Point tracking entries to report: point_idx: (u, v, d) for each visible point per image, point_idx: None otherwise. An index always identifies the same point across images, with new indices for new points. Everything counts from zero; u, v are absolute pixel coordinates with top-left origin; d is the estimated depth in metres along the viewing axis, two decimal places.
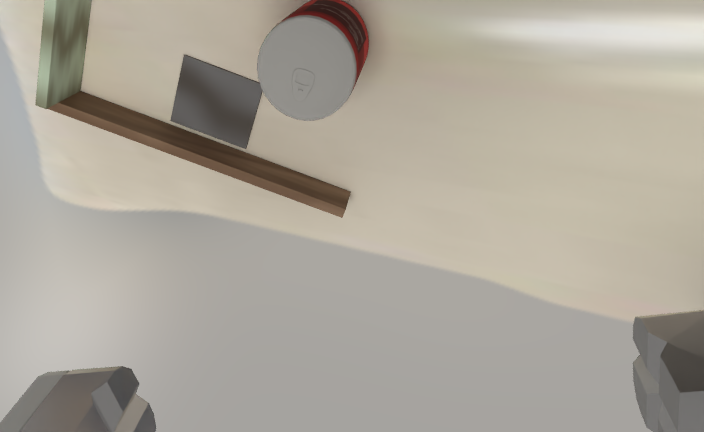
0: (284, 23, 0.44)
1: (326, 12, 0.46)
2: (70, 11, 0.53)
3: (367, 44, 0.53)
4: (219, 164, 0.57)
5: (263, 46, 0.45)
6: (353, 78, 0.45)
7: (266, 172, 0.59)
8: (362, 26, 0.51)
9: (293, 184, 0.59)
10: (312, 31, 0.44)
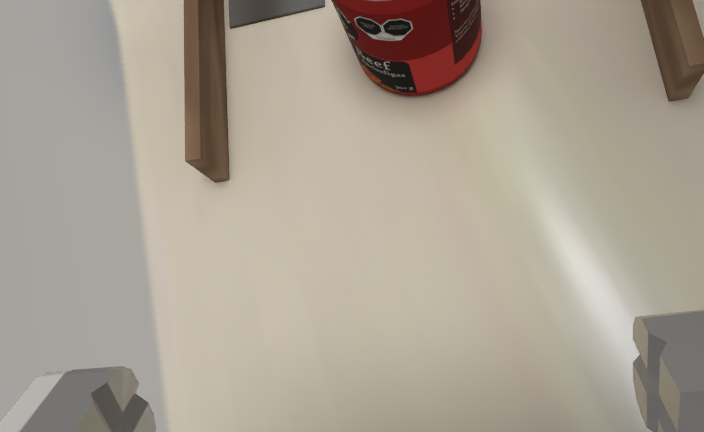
0: None
1: None
2: None
3: (447, 75, 0.36)
4: None
5: None
6: None
7: (209, 48, 0.40)
8: (468, 51, 0.35)
9: (207, 83, 0.38)
10: None
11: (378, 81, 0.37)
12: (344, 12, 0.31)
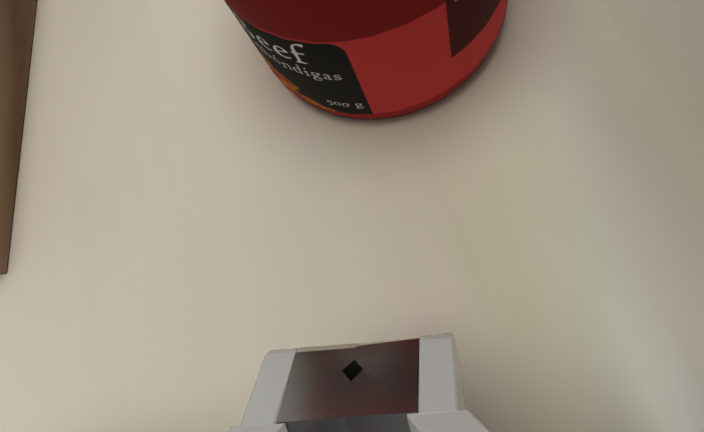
0: None
1: None
2: None
3: (434, 79, 0.17)
4: None
5: None
6: None
7: None
8: (481, 28, 0.16)
9: None
10: None
11: (294, 89, 0.18)
12: None
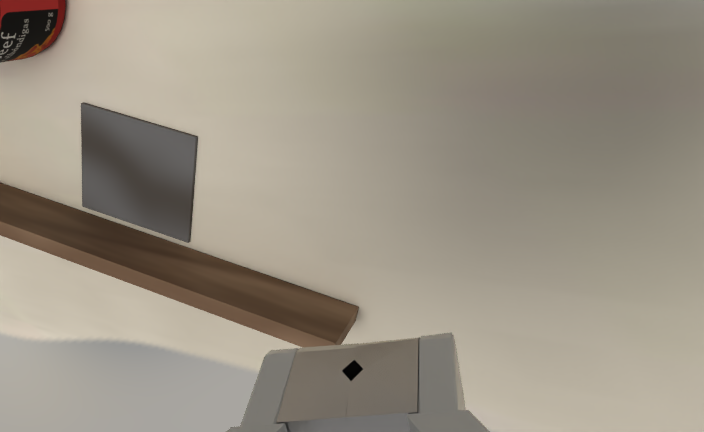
0: None
1: None
2: None
3: None
4: (130, 271, 0.35)
5: None
6: None
7: (210, 280, 0.35)
8: None
9: (251, 299, 0.34)
10: None
11: (39, 46, 0.34)
12: None
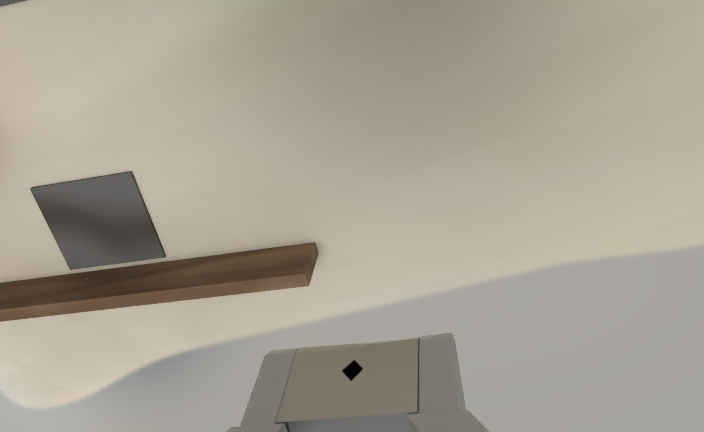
0: None
1: None
2: None
3: None
4: (130, 296, 0.42)
5: None
6: None
7: (194, 275, 0.42)
8: None
9: (230, 273, 0.41)
10: None
11: None
12: None
